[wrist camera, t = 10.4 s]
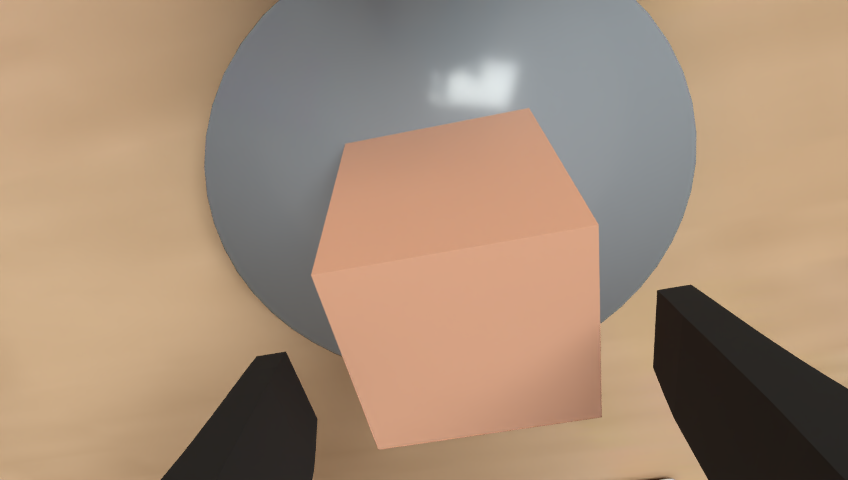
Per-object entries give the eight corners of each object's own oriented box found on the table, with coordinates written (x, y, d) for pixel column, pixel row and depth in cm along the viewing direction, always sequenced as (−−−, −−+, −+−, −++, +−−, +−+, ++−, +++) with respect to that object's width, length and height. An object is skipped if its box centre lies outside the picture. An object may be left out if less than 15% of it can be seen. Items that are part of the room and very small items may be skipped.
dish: (665, 318, 20) (679, 340, 19) (303, 376, 21) (298, 401, 20) (696, -135, 12) (723, -138, 11) (128, -3, 13) (105, 4, 12)
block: (542, 260, 17) (601, 417, 11) (387, 286, 17) (378, 449, 12) (528, 107, 14) (598, 225, 9) (345, 143, 14) (310, 275, 9)
